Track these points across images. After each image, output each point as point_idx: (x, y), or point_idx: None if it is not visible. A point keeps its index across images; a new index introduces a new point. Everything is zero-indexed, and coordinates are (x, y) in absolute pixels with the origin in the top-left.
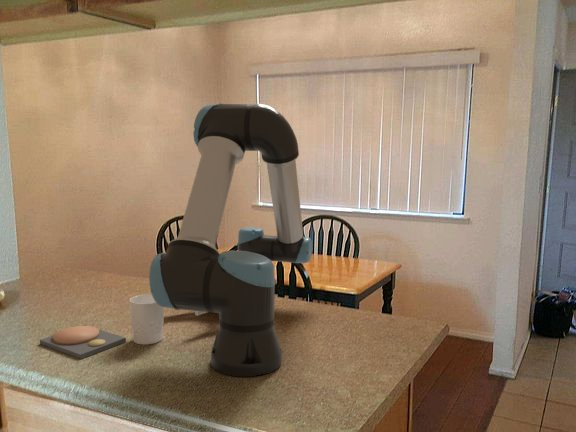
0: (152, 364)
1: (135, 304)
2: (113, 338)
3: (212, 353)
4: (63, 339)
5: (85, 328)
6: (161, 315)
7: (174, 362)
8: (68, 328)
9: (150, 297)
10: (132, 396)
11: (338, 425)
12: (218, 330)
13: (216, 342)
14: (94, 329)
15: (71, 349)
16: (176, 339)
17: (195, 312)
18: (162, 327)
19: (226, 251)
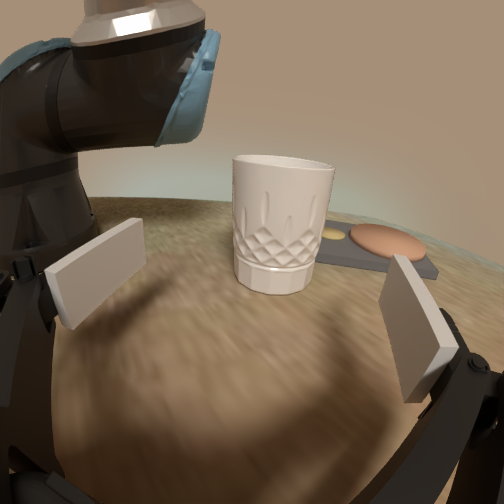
0: (192, 226)
1: (282, 159)
2: (327, 246)
3: (93, 213)
4: (374, 225)
5: (403, 249)
6: (232, 203)
7: (159, 232)
8: (420, 245)
9: (309, 179)
10: (180, 199)
11: None
12: (79, 179)
13: (85, 193)
14: (387, 248)
15: (339, 223)
16: (198, 287)
17: (144, 252)
18: (235, 245)
19: (68, 39)
